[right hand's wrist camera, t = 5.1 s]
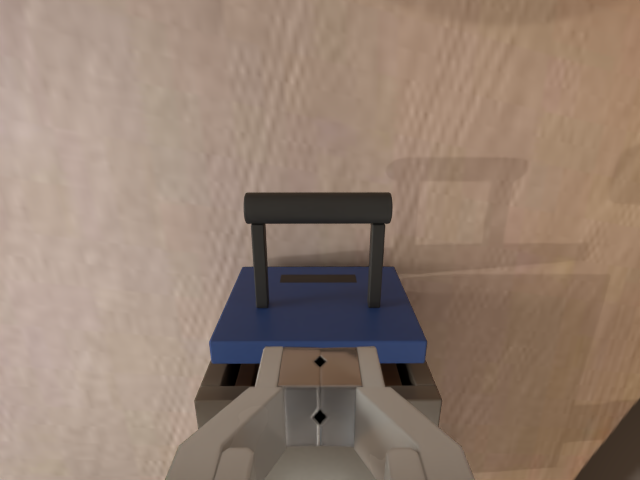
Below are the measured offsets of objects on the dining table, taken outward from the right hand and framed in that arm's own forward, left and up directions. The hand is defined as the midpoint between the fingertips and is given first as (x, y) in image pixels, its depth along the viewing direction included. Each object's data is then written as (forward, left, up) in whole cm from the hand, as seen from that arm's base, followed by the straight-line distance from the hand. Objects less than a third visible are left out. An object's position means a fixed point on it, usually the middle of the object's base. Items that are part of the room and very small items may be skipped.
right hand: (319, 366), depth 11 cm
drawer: (+8, -1, -13) cm, 16 cm away
